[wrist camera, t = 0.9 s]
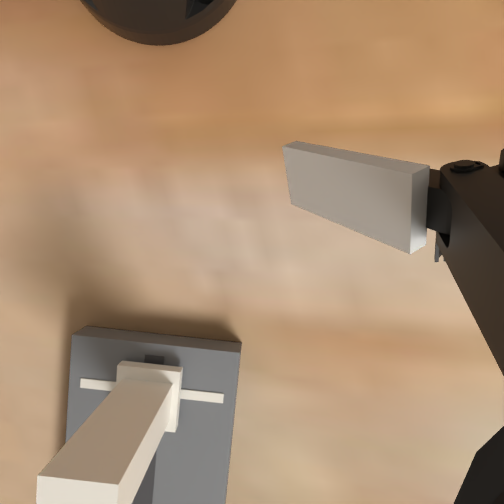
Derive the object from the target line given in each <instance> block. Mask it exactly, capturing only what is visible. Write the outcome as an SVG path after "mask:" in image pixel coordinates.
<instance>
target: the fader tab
mask: <svg viewBox="0 0 504 504" xmlns="http://www.w3.org/2000/svg"><path fill="white" fill-rule="evenodd" d="M182 373H183V367H178V366H168V365H159V364H150V363H141V362H132V361H121V362H120V363H119V364H118V365H117V377H116V387H115V388H114V389H113V390H112V391H111V392H110V393H109V394H108V396H107V397H106V398H105V399H104V400H103V401H102V402H101V404H100V405H99V406H98V407H97V408H96V409H95V410H94V412H93V413H92V414H91V415H90V416H89V417H88V418H87V420H86V421H85V422H84V423H83V424H82V425H81V426H80V428H79V429H78V430H77V431H76V432H75V433H74V434H73V436H72V437H71V438H70V439H69V440H68V441H67V442H66V444H65V445H64V446H63V447H62V448H61V449H60V450H59V452H58V453H57V454H56V455H55V456H54V457H53V458H52V460H51V461H50V462H49V463H48V464H47V465H46V466H45V468H44V469H43V470H42V471H41V472H40V473H39V474H38V476H37V495H36V504H132V502H133V500H134V497H135V495H136V493H137V491H138V489H139V486H140V484H141V482H142V480H143V478H144V475H145V473H146V471H147V469H148V467H149V464H150V462H151V460H152V458H153V456H154V454H155V451H156V449H157V447H158V445H159V443H160V440H161V438H162V436H163V434H164V432H165V431H166V432H175V431H176V429H177V426H178V418H179V407H180V396H181V384H182Z"/></svg>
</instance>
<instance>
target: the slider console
mask: <svg viewBox="0 0 504 504" xmlns="http://www.w3.org/2000/svg"><path fill="white" fill-rule="evenodd" d="M241 345H242V343H239V342H230V341H221V340H211V339H202V338H193V337H183V336H174V335H165V334H155V333H146V332H137V331H127V330H118V329H109V328H100V327H90V326H86V327H84V328H82V329H81V330H79V331H77V332H76V333H74V334H72V342H71V359H70V375H69V392H68V409H67V426H66V442H67V441H68V440H69V439H70V438H71V437H72V436H73V434H74V433H75V432H76V431H77V430H78V429H79V428H80V426H81V425H82V424H83V423H84V422H85V421H86V420H87V418H88V417H89V416H90V415H91V414H92V413H93V412H94V410H95V409H96V408H97V407H98V406H99V405H100V404H101V402H102V401H103V400H104V399H105V398H106V397H107V396H108V394H109V393H110V392H111V391H112V390H113V389H114V388H115V387H116V377H117V365H118V364H119V363H120V362H121V361H132V362H141V363H150V364H159V365H168V366H178V367H183V373H182V384H181V396H180V407H179V418H178V426H177V429H176V431H175V432H166V431H165V432H164V434H163V436H162V438H161V440H160V443H159V445H158V447H157V449H156V451H155V454H154V456H153V458H152V460H151V462H150V464H149V467H148V469H147V471H146V473H145V475H144V478H143V480H142V482H141V484H140V486H139V489H138V491H137V493H136V495H135V497H134V500H133V502H132V504H225V502H226V493H227V483H228V473H229V463H230V453H231V444H232V434H233V424H234V414H235V404H236V394H237V385H238V375H239V365H240V355H241ZM65 444H66V443H65Z"/></svg>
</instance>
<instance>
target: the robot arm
mask: <svg viewBox="0 0 504 504" xmlns="http://www.w3.org/2000/svg"><path fill="white" fill-rule="evenodd" d="M80 1H81V2H82V3H83V4H84V5H85V7H86V8H87V9H88V10H89V12H90V13H91V14H92V15H93V16H94V17H95V18H96V19H97V20H98V21H99V22H100V23H101V24H102V25H104V26H105V27H106V28H107V29H109V30H110V31H112V32H113V33H115V34H117V35H119V36H121V37H123V38H125V39H128V40H130V41H134V42H137V43H141V44H147V45H172V44H177V43H181V42H185V41H188V40H190V39H193V38H195V37H197V36H199V35H201V34H203V33H205V32H206V31H208V30H209V29H211V28H212V27H213V26H215V25H216V24H217V23H218V22H219V21H220V20H221V19H222V18H223V17H224V16H225V15H226V14H227V13H228V11H229V10H230V9H231V7H232V6H233V5H234V3H235V2H236V0H80ZM282 148H283V155H284V161H285V167H286V174H287V180H288V186H289V193H290V199H291V204H292V205H295V206H297V207H299V208H302V209H304V210H307V211H309V212H311V213H314V214H316V215H318V216H321V217H323V218H325V219H328V220H330V221H333V222H335V223H337V224H340V225H342V226H344V227H347V228H349V229H351V230H354V231H356V232H359V233H361V234H363V235H366V236H368V237H370V238H373V239H375V240H378V241H380V242H382V243H385V244H387V245H389V246H392V247H394V248H396V249H399V250H401V251H404V252H406V253H408V254H411V253H413V252H415V251H417V250H418V249H420V248H422V247H423V246H425V245H426V233H427V228H429V229H432V230H435V231H436V243H435V262H438V261H439V257H440V256H441V255H443V257H444V261H446V263H447V265H448V267H449V269H450V271H451V273H452V275H453V277H454V279H455V281H456V283H457V285H458V287H459V289H460V291H461V293H462V295H463V297H464V299H465V301H466V303H467V305H468V307H469V309H470V311H471V312H472V314H473V316H474V318H475V320H476V322H477V324H478V326H479V328H480V330H481V332H482V334H483V336H484V338H485V340H486V342H487V344H488V346H489V348H490V350H491V352H492V354H493V356H494V358H495V360H496V362H497V364H498V366H499V368H500V370H501V372H502V374H503V376H504V149H503V150H501V154H500V161H499V165H496V166H492V167H489V166H488V165H486V164H484V163H482V162H480V161H471V160H460V161H456V162H451V163H448V164H445V165H443V166H442V167H441V168H440V170H435V169H430V166H429V165H424V164H418V163H413V162H407V161H402V160H396V159H391V158H386V157H380V156H375V155H369V154H364V153H359V152H353V151H348V150H342V149H337V148H332V147H326V146H321V145H315V144H310V143H304V142H299V141H295V142H292V143H290V144H287V145H284V146H282ZM454 504H504V426H503V427H502V428H501V429H500V430H499V431H498V432H497V433H496V434H495V435H494V436H493V437H492V438H491V439H490V440H489V441H488V442H487V443H486V444H485V445H483V446H482V447H481V448H480V449H479V450H478V451H477V452H476V454H475V457H474V459H473V461H472V463H471V466H470V468H469V470H468V472H467V475H466V477H465V479H464V481H463V484H462V486H461V488H460V490H459V493H458V495H457V497H456V499H455V502H454Z"/></svg>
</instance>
